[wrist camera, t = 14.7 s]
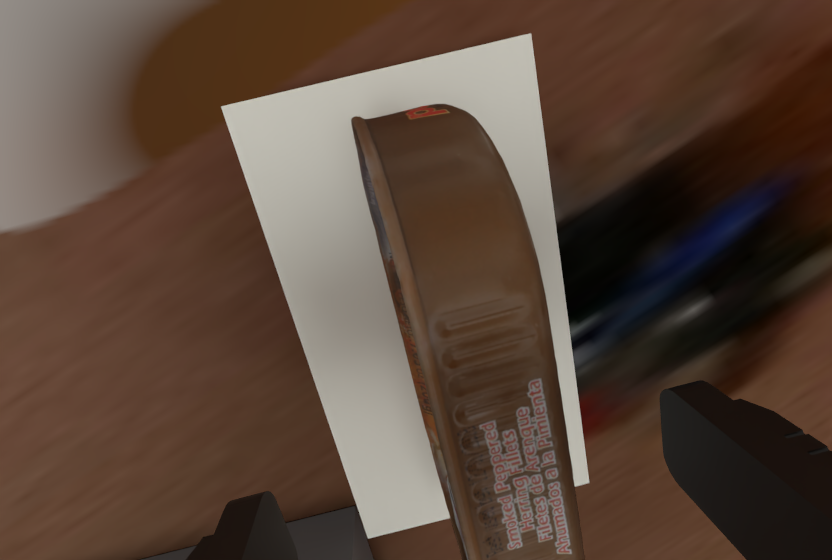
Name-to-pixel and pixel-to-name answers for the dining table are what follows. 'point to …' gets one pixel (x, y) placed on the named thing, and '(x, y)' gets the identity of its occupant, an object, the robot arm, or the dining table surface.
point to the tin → (473, 330)
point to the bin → (316, 538)
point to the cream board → (362, 263)
